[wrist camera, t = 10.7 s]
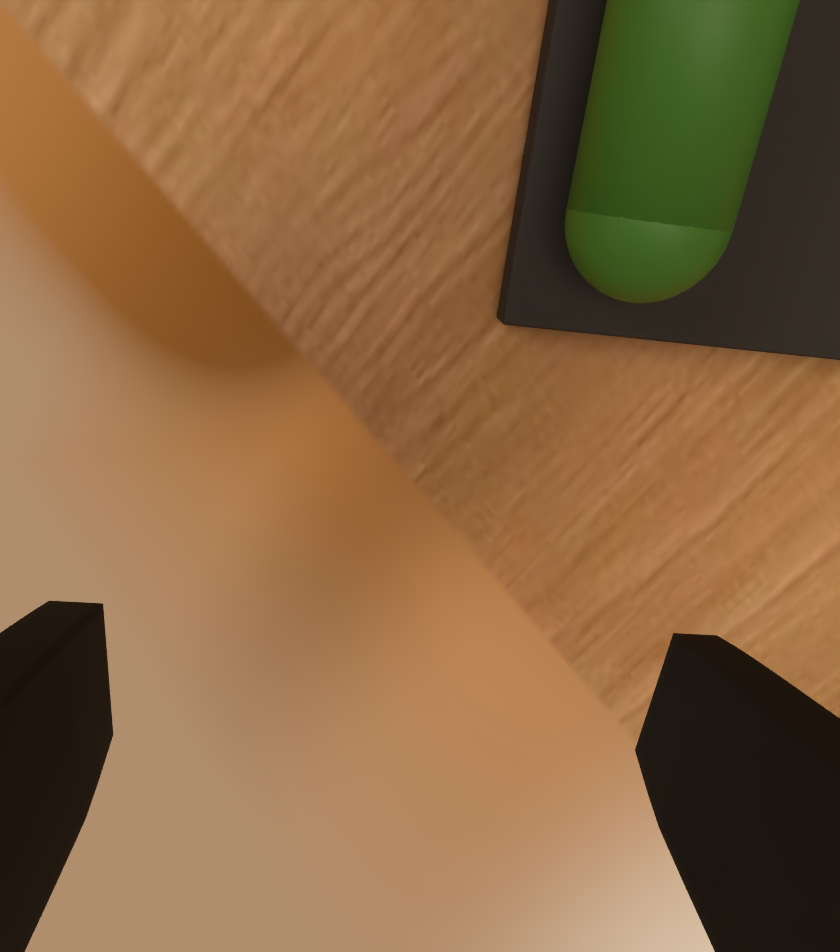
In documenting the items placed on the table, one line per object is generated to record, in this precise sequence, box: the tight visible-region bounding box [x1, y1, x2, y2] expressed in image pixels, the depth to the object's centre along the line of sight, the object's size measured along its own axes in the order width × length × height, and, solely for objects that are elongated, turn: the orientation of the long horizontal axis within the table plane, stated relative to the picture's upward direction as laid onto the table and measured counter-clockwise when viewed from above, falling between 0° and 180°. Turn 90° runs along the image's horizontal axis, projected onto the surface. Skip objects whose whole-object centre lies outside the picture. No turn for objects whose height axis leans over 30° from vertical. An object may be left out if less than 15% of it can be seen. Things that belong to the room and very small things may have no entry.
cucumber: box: [565, 0, 800, 303], centre depth 12 cm, size 10×3×3 cm, turn 173°
